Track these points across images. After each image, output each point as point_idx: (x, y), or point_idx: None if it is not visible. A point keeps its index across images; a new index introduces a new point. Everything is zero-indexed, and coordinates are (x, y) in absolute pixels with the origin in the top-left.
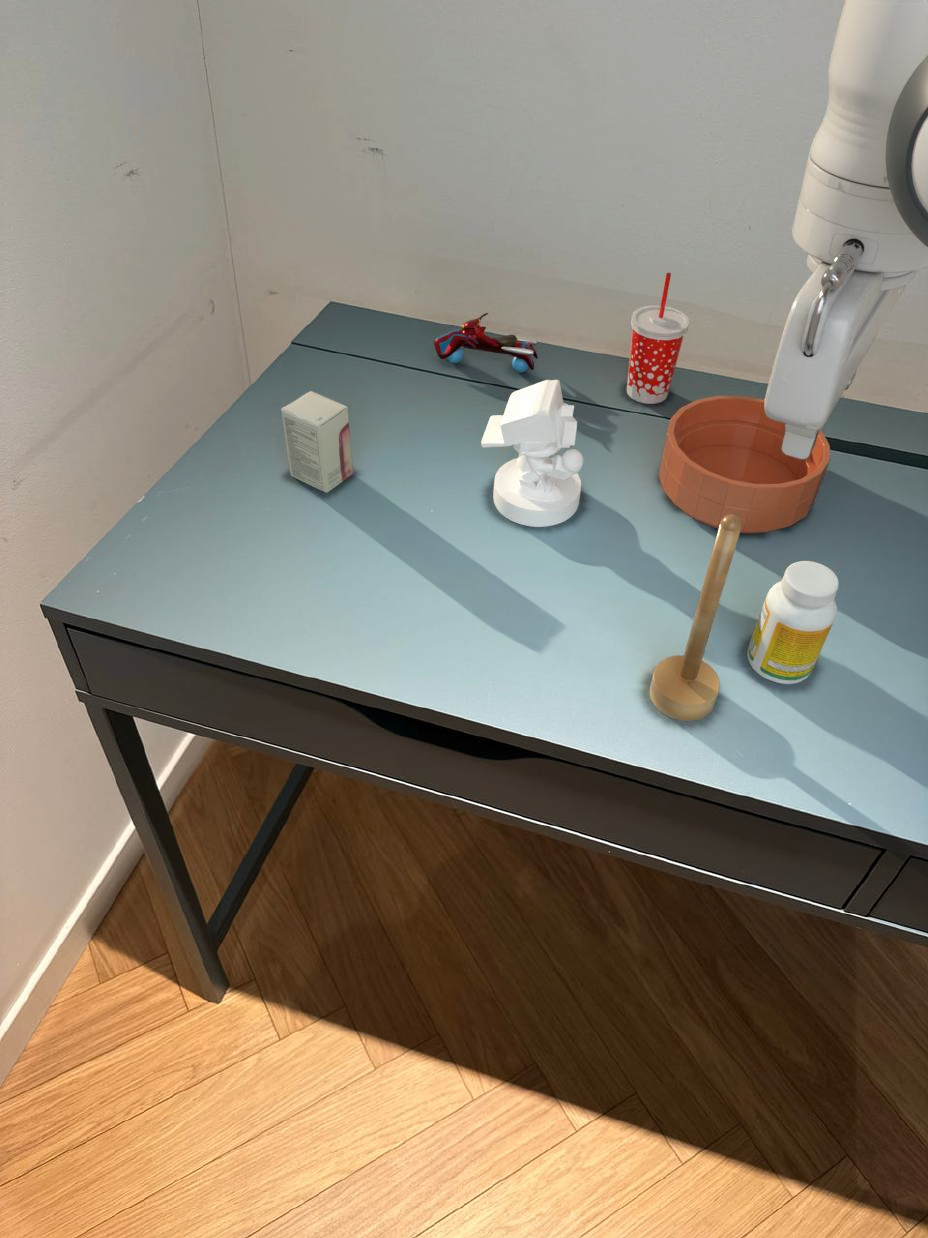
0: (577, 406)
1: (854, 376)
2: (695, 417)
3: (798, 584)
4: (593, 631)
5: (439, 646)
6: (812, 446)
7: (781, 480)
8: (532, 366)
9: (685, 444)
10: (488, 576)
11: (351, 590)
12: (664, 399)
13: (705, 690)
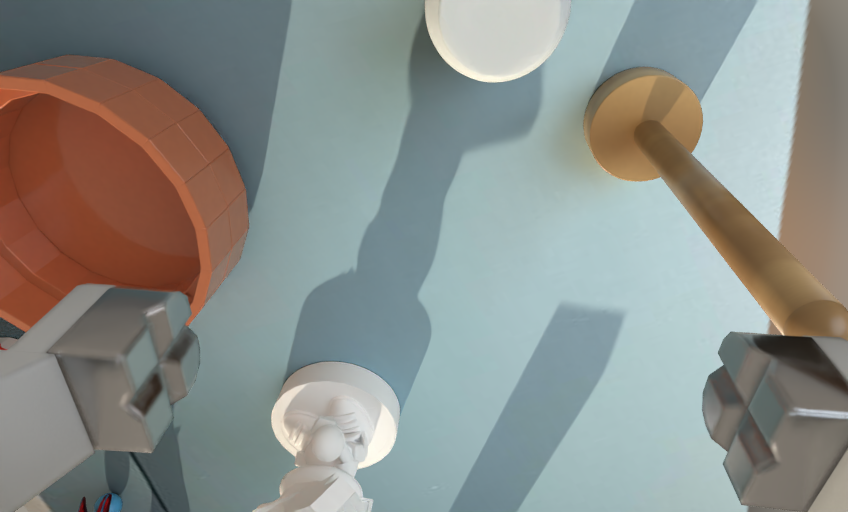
0: None
1: (82, 298)
2: None
3: (536, 38)
4: (554, 269)
5: (659, 408)
6: (823, 358)
7: (54, 126)
8: (107, 498)
9: None
10: (514, 405)
11: (606, 505)
12: (12, 338)
13: (659, 95)
